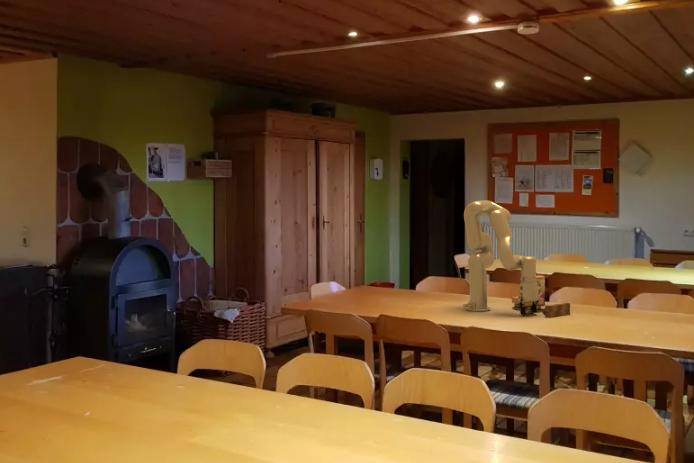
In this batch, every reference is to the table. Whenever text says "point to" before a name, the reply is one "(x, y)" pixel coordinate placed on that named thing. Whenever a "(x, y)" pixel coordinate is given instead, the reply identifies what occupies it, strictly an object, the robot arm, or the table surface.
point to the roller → (529, 311)
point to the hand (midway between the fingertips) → (528, 313)
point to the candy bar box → (541, 287)
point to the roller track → (538, 307)
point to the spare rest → (532, 315)
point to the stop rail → (557, 310)
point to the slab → (528, 302)
